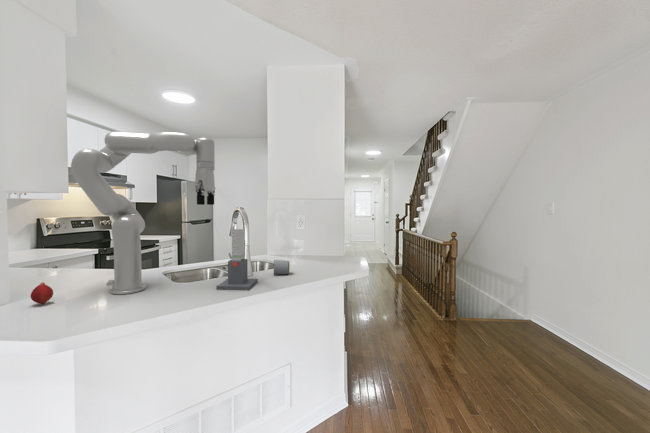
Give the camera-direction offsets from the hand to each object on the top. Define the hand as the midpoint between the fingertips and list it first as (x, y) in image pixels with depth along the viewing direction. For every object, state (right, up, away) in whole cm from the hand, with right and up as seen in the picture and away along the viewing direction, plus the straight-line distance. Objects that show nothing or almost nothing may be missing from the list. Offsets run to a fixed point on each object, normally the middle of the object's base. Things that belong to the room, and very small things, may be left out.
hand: (205, 204), depth 134 cm
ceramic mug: (+30, -36, +23) cm, 52 cm away
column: (+15, -29, -1) cm, 33 cm away
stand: (+15, -37, 0) cm, 39 cm away
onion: (-48, -37, -27) cm, 66 cm away
